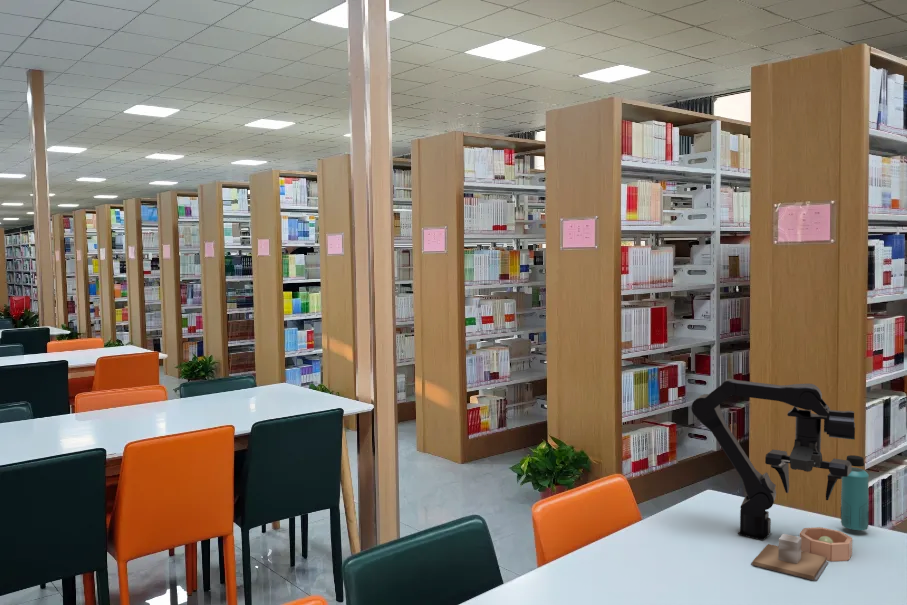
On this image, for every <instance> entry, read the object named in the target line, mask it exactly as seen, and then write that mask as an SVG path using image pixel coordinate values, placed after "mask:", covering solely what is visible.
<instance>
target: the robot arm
mask: <svg viewBox="0 0 907 605" xmlns="http://www.w3.org/2000/svg"><path fill="white" fill-rule="evenodd" d="M732 396H734V397H735V396H736V397H743V398H752V399H759V400H760V399H761V400H766V401H767V400H768V401H776V402H781V403H784V404H786V405H789V406H792V408H791V409H790V410H788V411H787V417H792V418H793V417H795V427H794V428H795V435H794V436H795V437H794V443H793V444H794V445H793V447H792V450H791V453H790V454H789V455H788V452H787V451H786V450H780V449H772V450H770V451H769V452H767V453H766V454H765V461H764V462H765V463H764V464H766V465H770V468H771V469H775V471H776V472H777V473H778V475H779V477H780V481H781V483H782V486H783V489H784V492H785V493H786V494H789V489H790V476H789V474H790V472H789V471H790V470H789V468H790V469H791V470H800V471H804V472H807V473H808V472H809V473H810V472H812V471H813V468H817V469H823V470H828V471H829V473H828V474H827V483H826V490H825V501H829V500H830V497H831V494H832V492H833V489H834V488H835V485H836V483H837V481H838V480H842V478H843V477H847V476H848V475H849V474H850V473H851V467H853V466H852V465H851V463H850V462H849V461H848V460H845V459H841V458H840V459H839V458H832V459H831V461H826V460H823V454H822V452H821V451H822V450H821V449H822V448H821V447H822V446H821V445H822V444H821V443H822V420H823V433H825V434H826V435H828V438H835V439H845V440H852V441H853V440H855V439H856V436H855V435H856V423H855V411H853V410H835V409H831V408H830V407H829V405H828V404H827V403H826V402H825V400H824V399H823V394H822V390H821V389H820V388H819V386H817V385H816V384H813V383H794V384H775V383H774V384H773V383H772V384H771V383H765V382H754V381H747V380H739V379H738V380H737V379H734V378H727V379H725V380H724V382H722V384H720V385H719V386H718V387H716V388H715V389H713V391H711V392H710V393H709V394H708V393H704V394H701V395H700V396H698V397H697V398H696V399H694V401H693V402H692V404H691V408H690V409H691V412H692V414H693V416H694V417H695V418H697V420H698V421H699V422H700V423H701V424H702V425H703V426H704V427H706V428H707V430H709V431H710V432H711V433H712V434H713V436H714V438H715V439H716V442H718V444H719V446H720V447H721V448H722V451H724V453H725V455H726V456H727V458H728V459H729V462H731V464H732V466H733V467H734V469H735V470H736V472H737V474H738V475H739V477H740V478H741V480H742V483H743V486H744V490H745V494H746V495H745V497H744V499H743V500H742V503H741V505H740V507H739V508H740V513H739V531H738V532H737V535H739V536H742V537H747V538H751V539H756V540H760V541H764V540H766V538H767V537H768V536H770V534H771V530H772V529H771V526H772V522H771V520H772V519H771V518H770V517H769V514H770V513H769V511H768V510H769V509H771V508H772V507H773V506H774V503H775V500H776V497H777V490H776V487H777V485H776V484H775V483H774V482H773V480H772V479H771V478H770V476H769V474H768V472H765V473H764V474H762V473H760V471H758V470H757V469H756V468H755V466H754V465H753V463H752V461H751V460H750V458H749V457H748V455H747V454H746V452H745V451H744V449H743V448H742V446H741V444H740V443H739V442H738V440H737V439H736V437H735V435H734V434H733V433H732V431H731V429H730V428H729V427H728V425H727V423H726V420H725V418H724V415H723V414H724V413H723V411H722V409H721V406H720V405H721V404H722V403H724V402H725V401H726V400H728V399H729V398H730V397H732ZM812 412H813V413H812ZM789 465H790V467H789Z"/></svg>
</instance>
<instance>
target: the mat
mask: <svg viewBox="0 0 907 605" xmlns="http://www.w3.org/2000/svg"><path fill="white" fill-rule="evenodd" d="M750 565H751V566H754V567H757V568H762V569H765V570H770V571H772V572H773V571H774V572H778V573H782V574H786V575H789V576H794V577H797V578H803V579H807V580H810V581H813V582H818V580H819V579H820V577H821V576H822V574H823V573H824V571H825V570H826V568H827V566H828V565H829V561H827V560H826V562H825V563H824V565H823V566H822V568H821V569H820V571H819V572H818V574H817V575H816V577H815V578H814V580H813V579H809V578H805V577H801V576H797V575H793V574H789V573H785V572H781V571H777V570H773V569H768V568H764V567H760V566H756V565H753V561H751V562H750Z"/></svg>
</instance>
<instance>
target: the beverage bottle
mask: <svg viewBox="0 0 907 605" xmlns="http://www.w3.org/2000/svg"><path fill="white" fill-rule="evenodd" d="M845 459H846V460H848V461H849V462H850V463H851V465H852V467H851V473H850V474H849V475H848V476H847V477H843V478H842V479H841V490H840V493H841V494H840V523H841V525H842V527H844V528H846V529H850V530H854V531H865V530H867V529H868V528H869V524H870V523H869V522H870V511H869V505H870V500H869V499H870V498H869V496H870V495H869V477H870V475H869V473H868V472H867V471H866V470H864V469H862V468H859V467H864V466H865V462H864V461H865V460H864V457H862V456H859V455H851V454H850V455H846V458H845Z"/></svg>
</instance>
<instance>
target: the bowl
mask: <svg viewBox="0 0 907 605" xmlns="http://www.w3.org/2000/svg"><path fill="white" fill-rule="evenodd" d="M799 537H801V551H802V552H806V553H811V554H815V555H819V556H824V557H826V561H827V562H846V561H849V560H850V559H851V557H852V556H853V537H851V536H849V535H848V534H847V533H844V532H842V530H841V531H840V530H836V529H831V528H826V527H821V526H819V527H803V528H802V529H801V531H800V532H799Z"/></svg>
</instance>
